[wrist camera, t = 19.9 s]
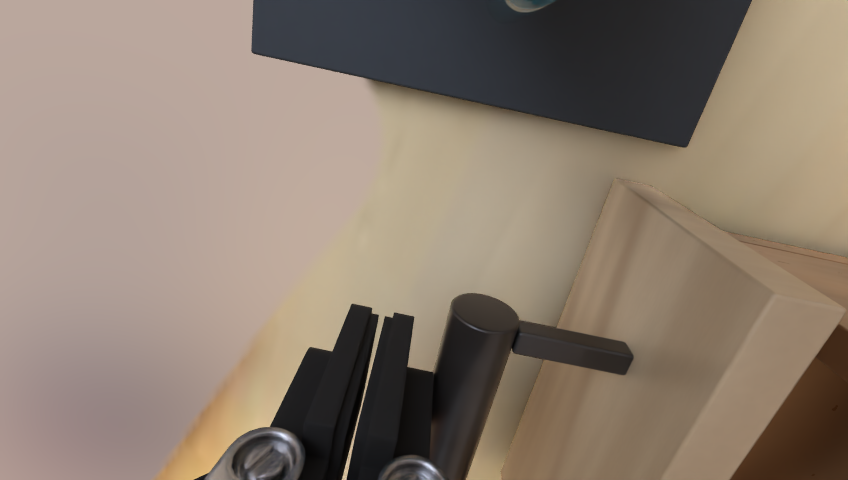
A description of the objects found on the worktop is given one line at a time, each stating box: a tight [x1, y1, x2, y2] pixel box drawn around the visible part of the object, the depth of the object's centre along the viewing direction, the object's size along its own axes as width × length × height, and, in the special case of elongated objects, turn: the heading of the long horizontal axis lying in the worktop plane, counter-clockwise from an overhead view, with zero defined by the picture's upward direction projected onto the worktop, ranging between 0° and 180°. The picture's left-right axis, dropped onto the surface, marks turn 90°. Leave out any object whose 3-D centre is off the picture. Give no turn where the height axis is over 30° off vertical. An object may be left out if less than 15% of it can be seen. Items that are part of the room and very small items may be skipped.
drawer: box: [429, 178, 848, 480], centre depth 12 cm, size 20×13×7 cm, turn 79°
